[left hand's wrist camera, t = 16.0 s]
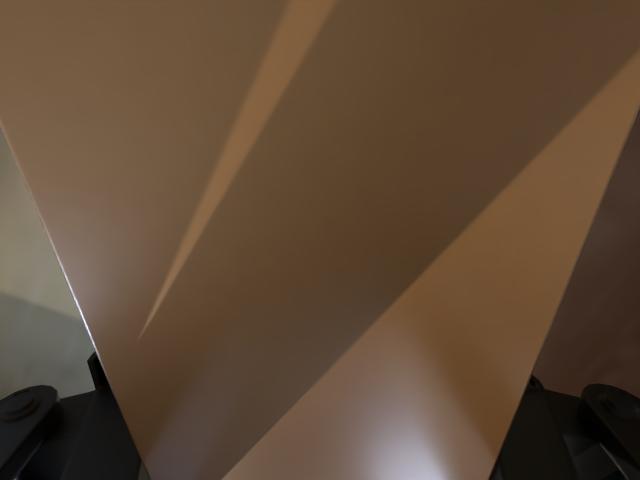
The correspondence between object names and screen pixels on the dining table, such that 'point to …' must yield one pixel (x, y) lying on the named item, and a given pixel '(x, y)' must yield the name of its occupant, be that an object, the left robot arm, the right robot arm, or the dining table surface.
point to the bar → (318, 214)
